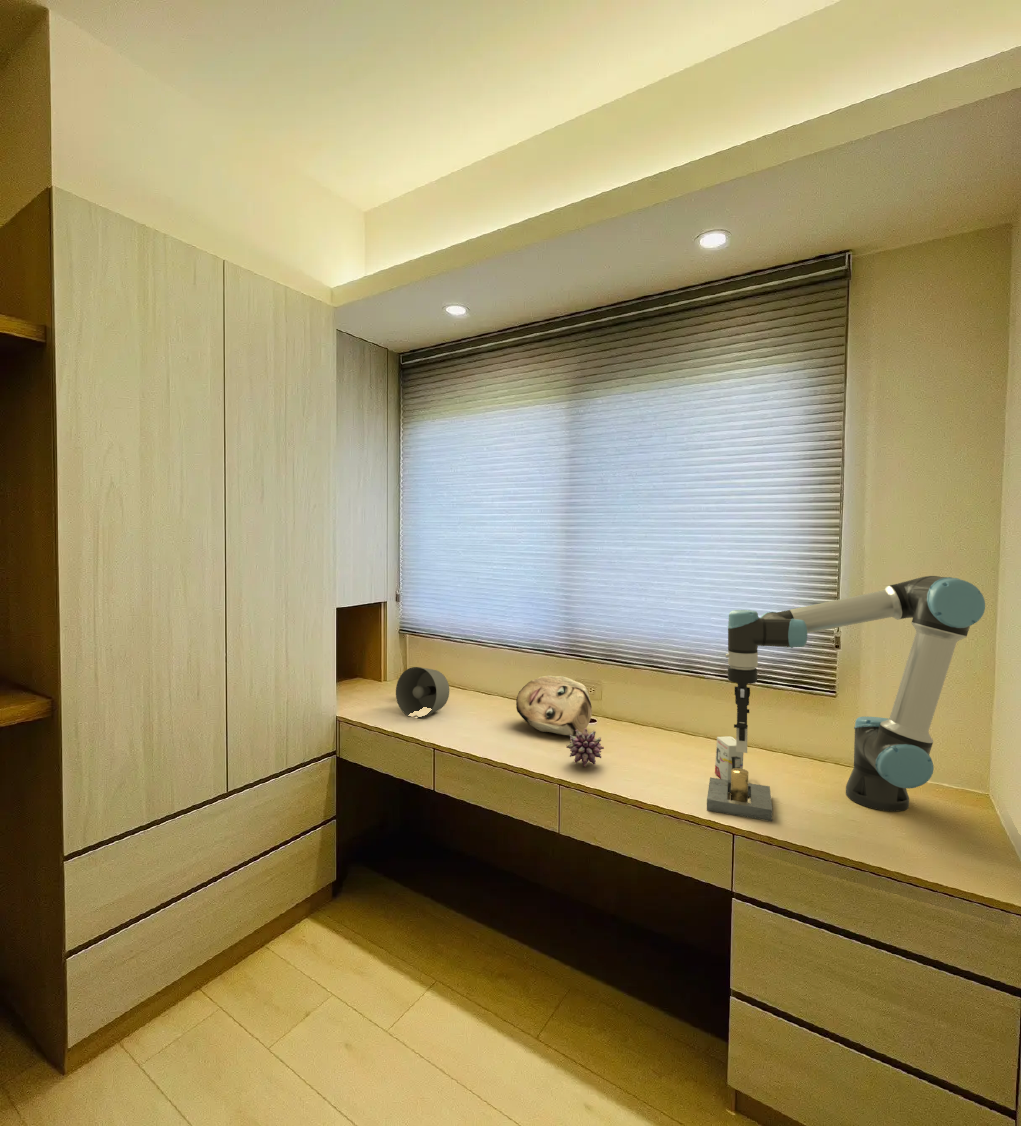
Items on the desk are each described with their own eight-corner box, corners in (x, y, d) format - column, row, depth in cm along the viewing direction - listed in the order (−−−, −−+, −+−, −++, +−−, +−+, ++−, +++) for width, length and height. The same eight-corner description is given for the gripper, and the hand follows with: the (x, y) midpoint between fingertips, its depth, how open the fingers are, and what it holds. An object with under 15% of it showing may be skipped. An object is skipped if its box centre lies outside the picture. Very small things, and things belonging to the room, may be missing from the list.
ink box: (714, 773, 182) (715, 736, 182) (729, 773, 183) (730, 735, 183) (727, 785, 174) (728, 745, 173) (743, 784, 174) (744, 745, 174)
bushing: (747, 801, 163) (748, 769, 162) (747, 808, 159) (748, 775, 158) (730, 798, 164) (731, 767, 164) (730, 805, 160) (731, 772, 160)
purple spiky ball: (590, 775, 179) (590, 737, 179) (559, 765, 187) (559, 728, 187) (610, 765, 188) (611, 728, 187) (580, 756, 196) (580, 720, 196)
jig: (769, 796, 166) (769, 786, 166) (772, 821, 151) (772, 810, 151) (709, 787, 172) (710, 777, 172) (706, 810, 157) (706, 799, 157)
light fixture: (436, 668, 233) (471, 665, 256) (386, 665, 245) (424, 663, 268) (435, 720, 230) (470, 713, 254) (384, 715, 242) (422, 708, 266)
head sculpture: (520, 739, 232) (581, 756, 215) (503, 714, 222) (566, 730, 206) (544, 693, 245) (604, 706, 228) (530, 668, 235) (591, 679, 218)
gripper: (728, 657, 173) (728, 729, 174) (726, 675, 150) (725, 757, 151) (756, 659, 170) (755, 731, 171) (758, 677, 147) (757, 761, 148)
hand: (741, 744), depth 161 cm, fingers open, 13 cm apart
